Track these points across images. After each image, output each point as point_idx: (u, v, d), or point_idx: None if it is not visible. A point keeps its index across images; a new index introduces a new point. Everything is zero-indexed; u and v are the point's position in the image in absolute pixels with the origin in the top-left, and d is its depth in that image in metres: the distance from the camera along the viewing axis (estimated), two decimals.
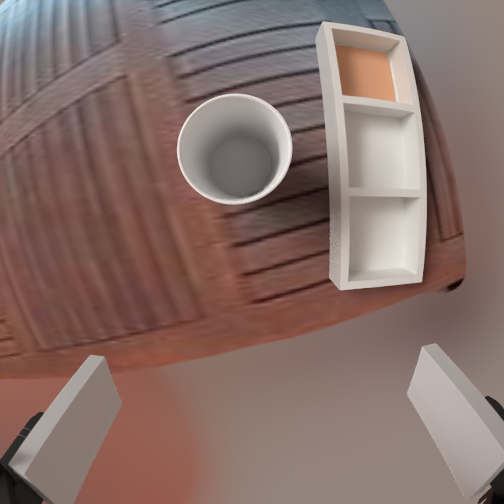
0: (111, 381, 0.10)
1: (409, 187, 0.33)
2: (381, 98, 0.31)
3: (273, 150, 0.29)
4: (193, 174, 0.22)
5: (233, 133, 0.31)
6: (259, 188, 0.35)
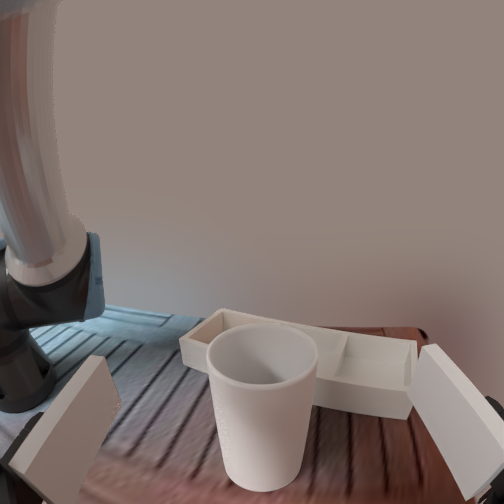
0: (111, 381, 0.10)
1: None
2: None
3: None
4: None
5: None
6: None
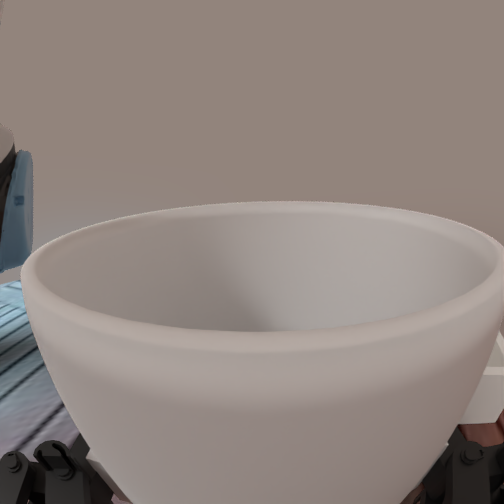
0: None
1: None
2: None
3: None
4: None
5: None
6: None
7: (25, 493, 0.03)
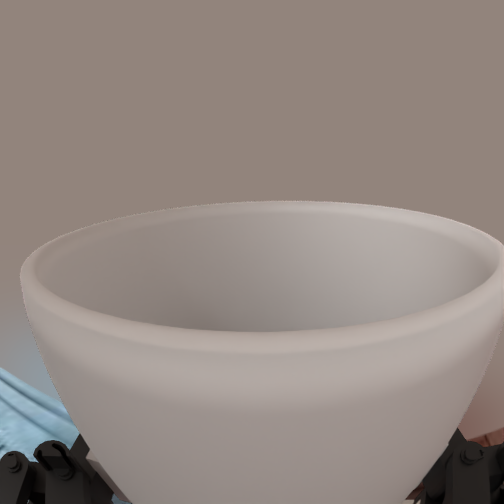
0: None
1: None
2: None
3: None
4: None
5: None
6: None
7: (25, 494, 0.03)
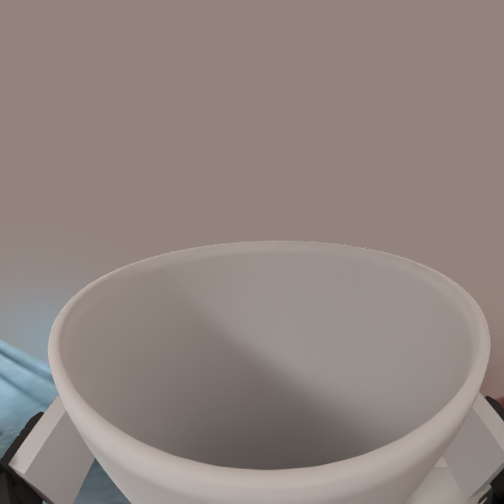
0: None
1: None
2: None
3: (276, 451, 0.12)
4: None
5: None
6: None
7: None
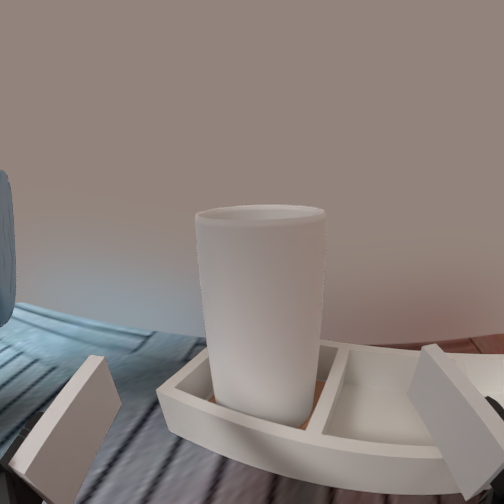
0: (111, 381, 0.10)
1: None
2: None
3: None
4: None
5: None
6: None
7: None
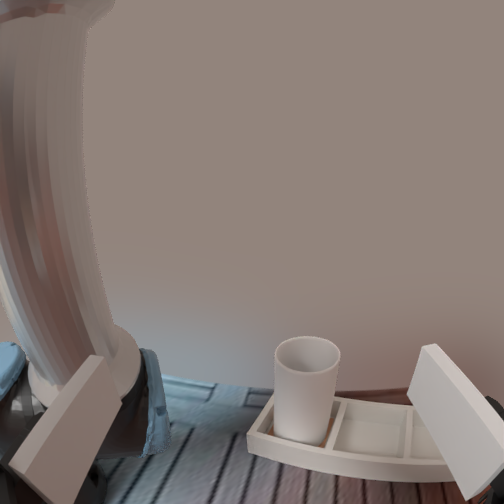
0: (111, 381, 0.10)
1: (400, 421, 0.34)
2: None
3: None
4: None
5: None
6: None
7: None
